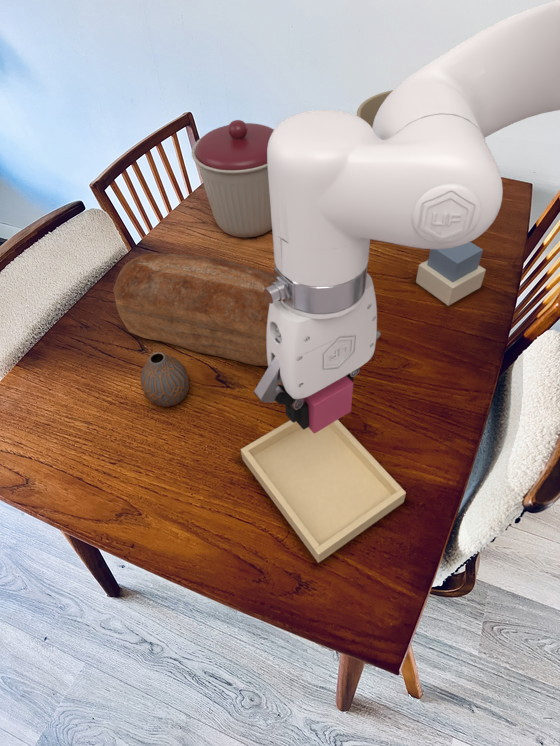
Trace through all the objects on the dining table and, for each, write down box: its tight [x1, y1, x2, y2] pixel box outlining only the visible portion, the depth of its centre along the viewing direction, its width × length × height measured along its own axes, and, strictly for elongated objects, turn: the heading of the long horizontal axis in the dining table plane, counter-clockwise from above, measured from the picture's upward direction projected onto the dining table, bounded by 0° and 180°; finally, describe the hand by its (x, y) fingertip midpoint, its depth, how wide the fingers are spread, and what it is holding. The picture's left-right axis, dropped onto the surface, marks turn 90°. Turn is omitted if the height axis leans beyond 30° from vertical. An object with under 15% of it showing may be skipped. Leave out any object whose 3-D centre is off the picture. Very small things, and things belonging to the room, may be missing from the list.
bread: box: [112, 252, 274, 367], centre depth 83 cm, size 12×31×14 cm, turn 70°
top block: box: [305, 376, 354, 434], centre depth 55 cm, size 5×5×5 cm
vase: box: [140, 351, 190, 408], centre depth 77 cm, size 7×7×9 cm
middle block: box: [427, 241, 484, 282], centre depth 88 cm, size 6×6×4 cm
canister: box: [191, 119, 275, 239], centre depth 101 cm, size 18×18×21 cm
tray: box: [240, 419, 407, 564], centre depth 68 cm, size 18×14×3 cm
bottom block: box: [415, 259, 487, 307], centre depth 92 cm, size 8×8×4 cm
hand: (319, 405), depth 57 cm, fingers closed on top block, 5 cm apart
